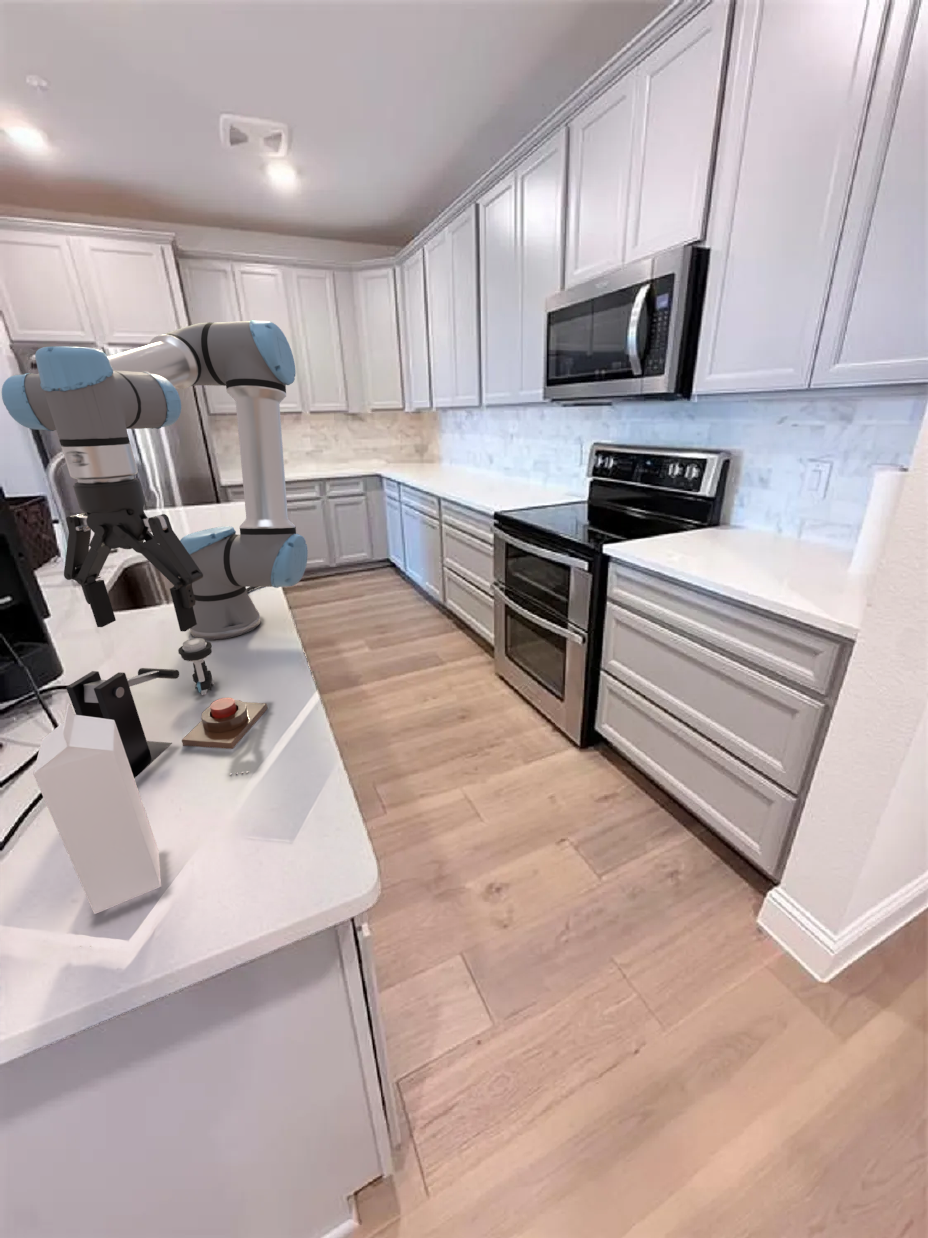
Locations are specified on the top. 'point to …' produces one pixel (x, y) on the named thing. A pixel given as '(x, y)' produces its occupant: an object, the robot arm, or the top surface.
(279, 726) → the top surface
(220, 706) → the button
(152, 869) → the milk
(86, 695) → the switch lever
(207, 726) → the button block
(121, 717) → the switch bracket
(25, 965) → the top surface
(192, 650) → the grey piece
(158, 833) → the top surface
